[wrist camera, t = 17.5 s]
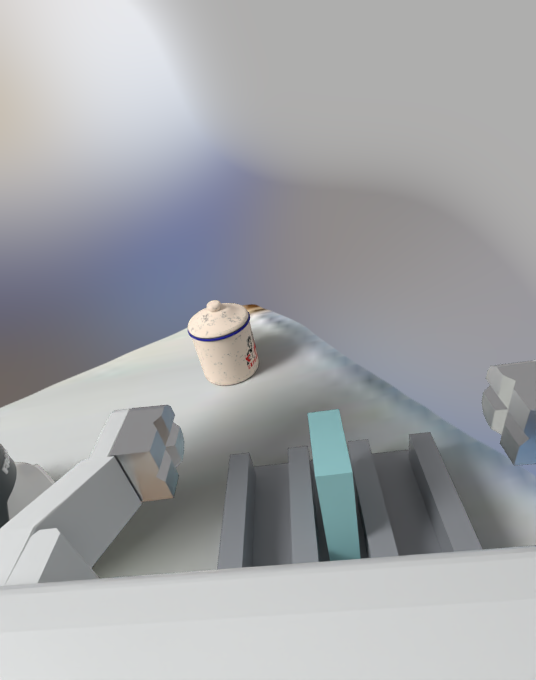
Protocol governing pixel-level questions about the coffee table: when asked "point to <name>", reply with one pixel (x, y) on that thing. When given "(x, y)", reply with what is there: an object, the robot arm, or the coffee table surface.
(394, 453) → the slotted rack
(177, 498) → the coffee table surface
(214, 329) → the teacup with lid
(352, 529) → the aqua rubber eraser
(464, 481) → the coffee table surface
